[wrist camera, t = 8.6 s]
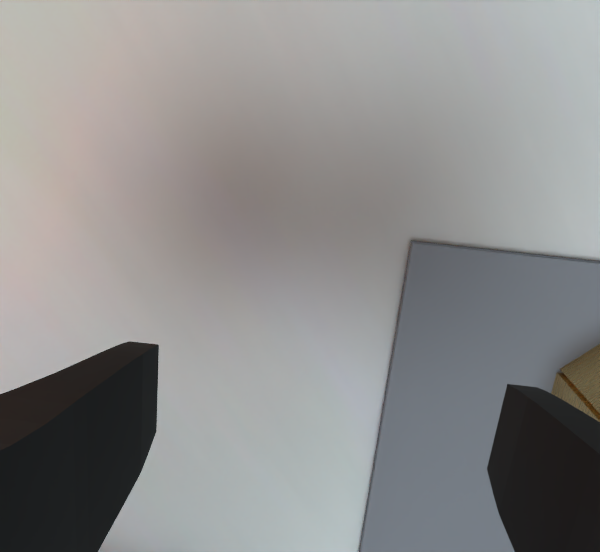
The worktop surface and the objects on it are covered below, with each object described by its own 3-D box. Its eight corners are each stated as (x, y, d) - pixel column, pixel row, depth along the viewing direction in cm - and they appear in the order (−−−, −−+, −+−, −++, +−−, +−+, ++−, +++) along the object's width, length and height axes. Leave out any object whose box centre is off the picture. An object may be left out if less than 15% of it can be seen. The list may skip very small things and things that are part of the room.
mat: (645, 596, 25) (650, 604, 24) (357, 563, 25) (357, 570, 24) (764, 279, 20) (772, 282, 20) (410, 240, 20) (412, 243, 20)
